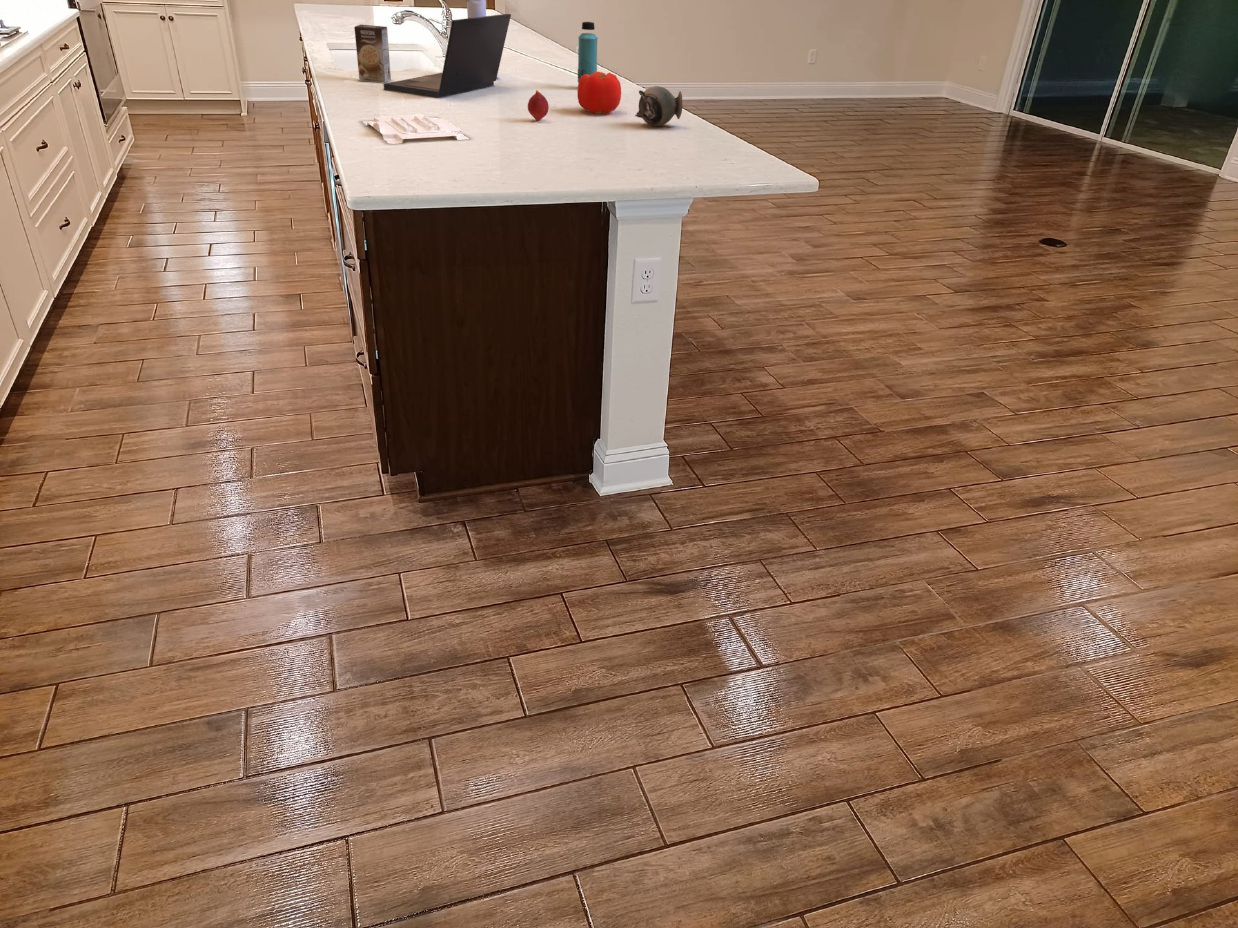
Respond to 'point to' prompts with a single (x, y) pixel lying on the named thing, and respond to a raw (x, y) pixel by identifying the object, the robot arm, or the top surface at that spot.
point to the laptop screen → (474, 51)
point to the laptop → (428, 86)
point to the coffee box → (372, 53)
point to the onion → (538, 106)
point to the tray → (413, 127)
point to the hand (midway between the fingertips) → (478, 66)
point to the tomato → (599, 92)
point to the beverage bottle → (587, 51)
